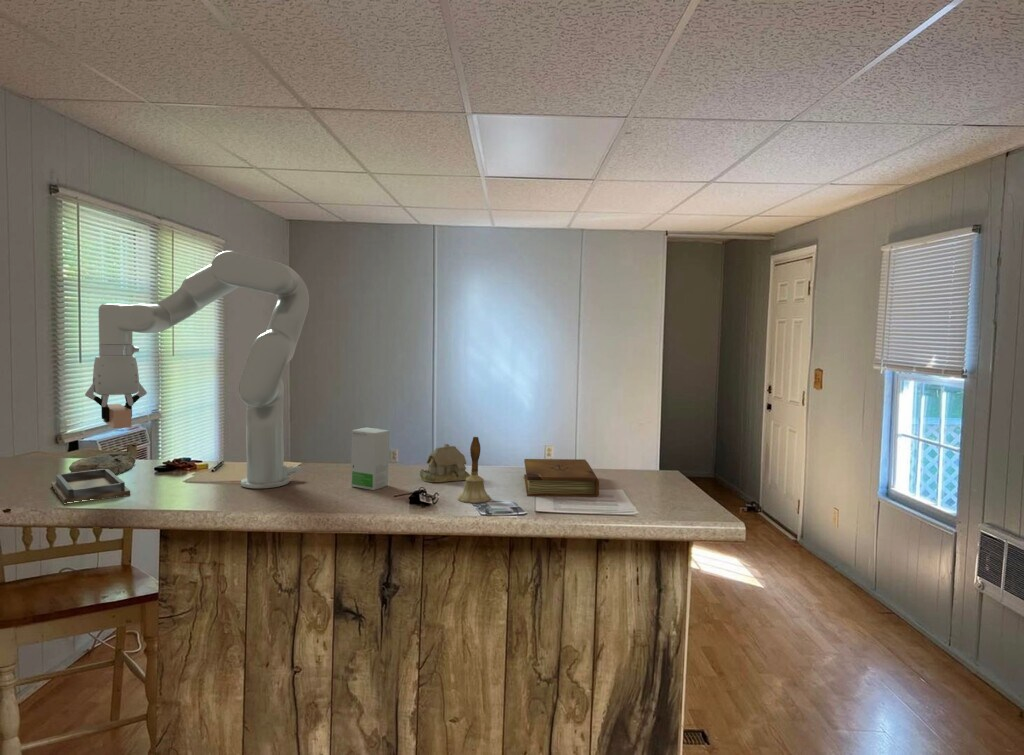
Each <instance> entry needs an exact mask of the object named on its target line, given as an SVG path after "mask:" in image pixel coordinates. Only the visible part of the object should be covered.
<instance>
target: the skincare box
mask: <svg viewBox="0 0 1024 755" xmlns="http://www.w3.org/2000/svg"><path fill="white" fill-rule="evenodd" d="M389 454H390V430H387V429H380V428H373V427H367V426H366V427H361V428H357V429H352V430H351V459H350V460H351V462H350V463H351V466H350V467H351V468H350V487H354V488H360V489H365V490H371V491H376V490H378V489H382V488H385V487H388V485H389V462H390V461H389V456H390V455H389Z"/></svg>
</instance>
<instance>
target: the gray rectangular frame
mask: <svg viewBox="0 0 1024 755" xmlns="http://www.w3.org/2000/svg"><path fill="white" fill-rule="evenodd" d="M55 479H56V481H51V483H50V484H51V485H50V486H51V488H52V487H53V488H52V490H53V489H54V490H55V491H56V492H55V491H54V490H53V491H54V492H55V494H56V493H57V494H58V495H59V496H58V495H57V494H56V495H57V496H58V498H59V497H60V498H61V499H62V501H63V502H64V503H67V502H74V501H82V500H90V499H100V500H103V499H102V498H107V499H110V498H109V497H114V498H117V497H116V496H121V497H125V496H124V495H128V496H131V490H130V489H129V488H128V486H125V485H126V484H125V482H124V480H122V479H121V478H120V477H119V476H118V475H117V474H116V475H115V474H114V473H113V472H111V471H110V470H109V469H98V470H89V471H81V472H72V473H71V472H65V473H60V474H56V475H55ZM60 498H59V499H60ZM61 499H60V500H61ZM62 501H61V502H62ZM63 502H62V503H63ZM64 503H63V504H64Z"/></svg>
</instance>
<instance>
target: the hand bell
mask: <svg viewBox="0 0 1024 755" xmlns="http://www.w3.org/2000/svg"><path fill="white" fill-rule="evenodd" d="M469 451H470V458H471V472H470V475H471V476H469V477H467V478H466V480H464V482H465V483H464V487H463V490H462V492H461V494H459V495H458V497H457V500H459V501H460V502H463V503H470V504H478V503H479V504H480V503H487V502H489V501H491V496H490V495H489V494H488V493H487V491H486V488H485V483H484V478H483V477H481V476H480V475H479V459H480V456H481V443H480V439H479V437H478V436H473V437H472V441H471V443H470V449H469Z"/></svg>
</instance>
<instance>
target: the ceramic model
mask: <svg viewBox="0 0 1024 755" xmlns="http://www.w3.org/2000/svg"><path fill="white" fill-rule="evenodd" d="M426 464H427V465H428V469H426V470H424V469H422V468H421V469H420V471H419V477H420V479H421V481H424V482H428V483H445V482H454V481H455V482H456V481H457V482H458V481H466V478H467V477H469V476H471V473H469V472H467V471H466V469H467V467H466V464H467V460H466V457H465V455H464V454H463V453H462V452H461V451H460V449H458V448H457V447H456V446H455V445H451V446H450V444H449V443H446V444H444V445H443V447H437V448H435V450H433V451H432V452H431V453H430V454H429V456H428V458H427V460H426Z"/></svg>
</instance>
